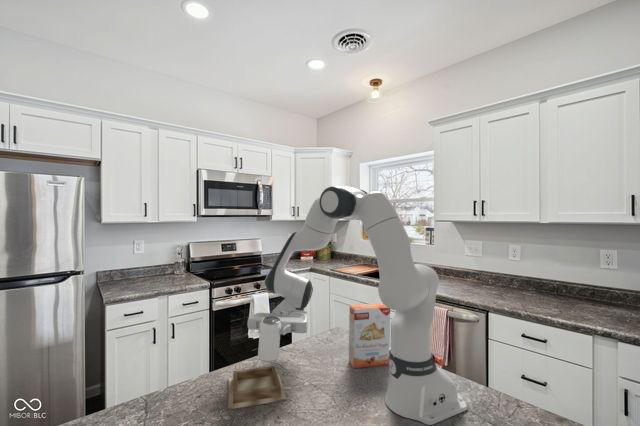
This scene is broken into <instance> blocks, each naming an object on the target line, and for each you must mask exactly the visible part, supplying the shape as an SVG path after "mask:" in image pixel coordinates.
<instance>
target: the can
mask: <svg viewBox="0 0 640 426" xmlns="http://www.w3.org/2000/svg"><path fill="white" fill-rule="evenodd" d="M280 329H281V323H280V319H279V318H277V317H274V316H268V317H264V318H263V319H262V322H261V324H260V333H259V337H258V348H257V349H258V351H257V357H258V359H259V360H260V361H262V362H265V363H272V362H274V361H276V360H277V359H278V358H279V353H280V343H281V342H280V341H281V335H280Z"/></svg>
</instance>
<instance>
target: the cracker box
mask: <svg viewBox="0 0 640 426" xmlns="http://www.w3.org/2000/svg"><path fill="white" fill-rule="evenodd" d="M348 316H349V318H348V319H349V321H348V323H349V324H348V327H349V328H348V362H349V364H350V365H351V366H352V368H353V369H359V368H368V367H379V366H388V365H389V351H390V349H391V309H390V308H388V307H387V306H385V305H384V304H383V303H373V304H371V303H370V304H367V303H366V304H354V305H353V304H351V305H349V315H348Z"/></svg>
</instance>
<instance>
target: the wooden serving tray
mask: <svg viewBox="0 0 640 426" xmlns="http://www.w3.org/2000/svg"><path fill="white" fill-rule="evenodd" d="M232 372H233V374H232V376H230V377H228V398H227V400H228V402H227V410H233V409H234V410H235V409H240V408H247V407H253V406H258V405H259V406H260V405H263V404H270V403H277V402H283V401H286V400H287V397H286V394H285V391H284V390H285V389H284V386H283V384H282V380H281V376H280V373H279V371H278V370H277V368H276V366H275V365H272V366H264V367H257V368H249V369H239V370H234V371H232Z"/></svg>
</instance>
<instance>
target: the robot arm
mask: <svg viewBox="0 0 640 426" xmlns="http://www.w3.org/2000/svg"><path fill="white" fill-rule="evenodd" d="M339 220H344V221H354V220H359V221H360V222H361V223H362V226H363V228H364V231H365V233H366V235H367V238H368V240H369V242H370V245H371V247H372V250H373V252H374V254H375V257H376V260H377V261H376V262H377V266H378V267H377V269H378V273H379V282H378V286H377V294H378V296H379V299H380V301H381V302H382V304H384V305H385V306H387V307H388V308H390V310H393V311H394V316H393V317H392V320H391V322H390V349H389V366H388V369H389V370H388V371H389V378H388V385H387V390H386V393H385V397H384V402H385V404H386V406H387V407H388V408H389V409H390V411H392V412H394V414H396V415H399V416H400V417H403V418H406V419H411V420H415V421H418V422H421V423H423V424H425V425H428V426H432V425H436V424H437V423H439V422H442V421H444V420H446V419H449V418H451V417H453V416H456V415H458V414H460V413H463V412H466V411H467V410H468V405H467V403H466V401H465V400H464V398H463V397H462V396H461V395H460V394H459V393H458V390H457V385H456V384H455V382H454V381H453V378H451V377H450V376H449V375H448V374H446V373H445V372H444V371H442V369H440V368H439V367H443V366H444V364H445V360H444V359H443V358H441V357H440V356H438V355H437V356H436V355H435V354H434V353H432V326H433V319H434V318H433V317H434V312H435V308H436V307H435V306H436V300H437V299H436V298H437V292H438V289H439V286H440V279H439V276H438V274H437V271H435V269H434V268H432V267H430V266H429V265H424V264H421V263H414V260H413V255H412V251H411V244H412V243H411V242H412V241H411V240H410V237H409V235H408V232H407V231H406V228H405V226H404V224H403V222H402V220H401V218H400V216H399V214H398V212H397V211H396V208H395V207H394V205H393V204H392V202H390V200H389V198H388V197H387V196H386V195H385V193H383V192H381V191H371V192H367V191H365V190H363V189H358V188H355V187H351V186H341V185H332V186H328V187H327V188H325V189H323V191H322V193H321V194H320V197H318V198H316V199H315V200H314V201H313V203H312V205H311V206H310V208H309V210H308V213H307V215H306V218H305V220H304V223H303V226H301V228H300V230H298V231H293V233H291V235H289V236H288V239H287V241H286V242H285V243H284V246H283V247H282V249H281V251H280V253H279V254H278V257H277V259H276V260H275V262H274V264H273V265H272V267H271V268H270V270H269V272H268V273H267V274H266V277H265V279H264V286H265V288H266V291H267V292H268V293H271V294H274V295H277V296H281V297H282V298H284V299H283V300H282V301H281V302H280V303H279V304H278V305H277V306H276V307H275V308H274V309H273V310H272V312H271V313H269V312H256V313H254V314H252V315H251V316H249V317H247V328H248V330H254V331H258V334H260V324H261V322H262V319H263V318H264V317H268V316H274V317H277V318H279V319H280V323H281V329H280V336H285V335H286V334H288V333H295V334H306V333H308V329H309V328H308V327H309V316H308V310H307V309H306V308H307V306H308V304H309V302H310V300H311V298H312V296H313V291H314V289H313V284H312V282H311V280H310V279H308V278H305V277H303V276H301V275H298V274H296V273H293V272H291V271H288V270H287V269H286V266H287V264H288V263H289V260H290V258H291V257H292V255H293V253H295V252H299V251H312V252H313V251H319V250H322V249H324V248H326V247H327V245H328V244H329V243H330V241H331V240H332V237H333V234H334V232H335V231H334V230H335V229H336V226H337V223H338V222H339ZM436 364H437V365H438V366H439V367H438V366H437V365H436Z"/></svg>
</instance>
